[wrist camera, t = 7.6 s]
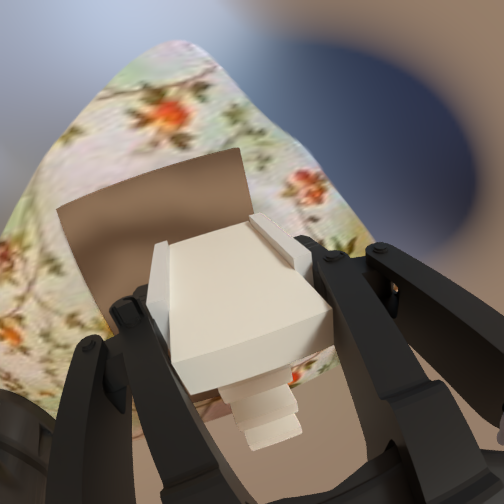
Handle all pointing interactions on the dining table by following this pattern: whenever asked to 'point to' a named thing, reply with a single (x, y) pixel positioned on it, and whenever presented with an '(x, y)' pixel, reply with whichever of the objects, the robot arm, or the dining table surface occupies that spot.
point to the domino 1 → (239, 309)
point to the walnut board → (152, 223)
